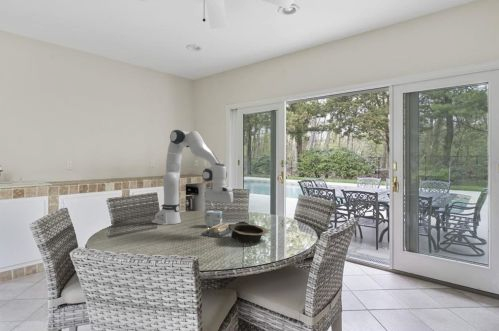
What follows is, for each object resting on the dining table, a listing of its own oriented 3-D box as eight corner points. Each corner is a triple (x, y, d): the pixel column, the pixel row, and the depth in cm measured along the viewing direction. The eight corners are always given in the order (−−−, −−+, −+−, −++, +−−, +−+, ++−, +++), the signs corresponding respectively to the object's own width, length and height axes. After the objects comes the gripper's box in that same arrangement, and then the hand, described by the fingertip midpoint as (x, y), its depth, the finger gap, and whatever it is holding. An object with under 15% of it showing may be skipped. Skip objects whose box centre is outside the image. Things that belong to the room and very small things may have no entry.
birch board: (210, 231, 189) (211, 227, 189) (220, 227, 201) (221, 223, 201) (217, 232, 187) (217, 228, 187) (227, 228, 199) (227, 224, 199)
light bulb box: (222, 225, 216) (222, 210, 216) (220, 227, 209) (220, 212, 209) (208, 224, 217) (208, 210, 217) (205, 226, 210) (206, 211, 210)
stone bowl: (222, 236, 185) (223, 221, 185) (257, 235, 194) (258, 221, 195) (234, 246, 162) (236, 229, 162) (274, 245, 171) (275, 229, 172)
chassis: (201, 235, 187) (201, 228, 187) (218, 228, 206) (218, 221, 206) (220, 237, 182) (220, 230, 181) (235, 230, 201) (235, 223, 201)
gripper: (203, 187, 194) (202, 207, 195) (230, 189, 186) (229, 210, 186) (208, 186, 200) (208, 206, 200) (234, 188, 192) (234, 209, 192)
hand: (218, 208), depth 193 cm, fingers open, 8 cm apart
